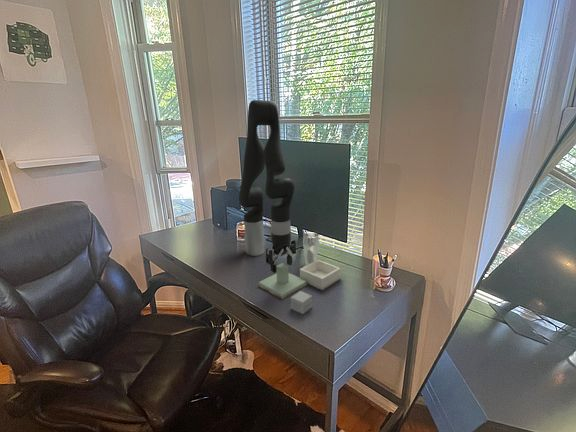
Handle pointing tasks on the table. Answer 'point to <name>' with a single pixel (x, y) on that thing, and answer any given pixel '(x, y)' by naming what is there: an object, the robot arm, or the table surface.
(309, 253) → the beer glass
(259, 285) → the mat
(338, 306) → the table surface
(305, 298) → the small box
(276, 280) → the lid
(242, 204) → the robot arm
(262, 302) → the table surface
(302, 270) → the open square box
